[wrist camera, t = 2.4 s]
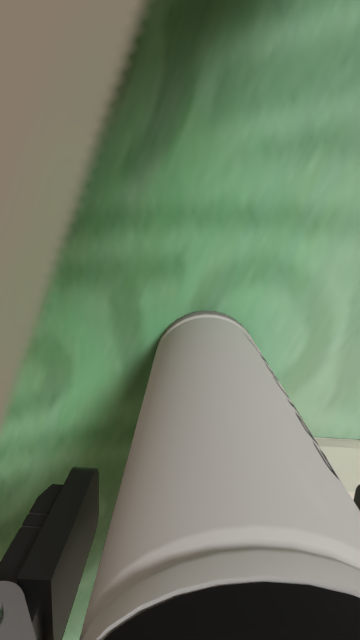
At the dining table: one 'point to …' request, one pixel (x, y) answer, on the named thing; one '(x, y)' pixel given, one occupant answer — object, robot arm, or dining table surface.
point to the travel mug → (225, 507)
